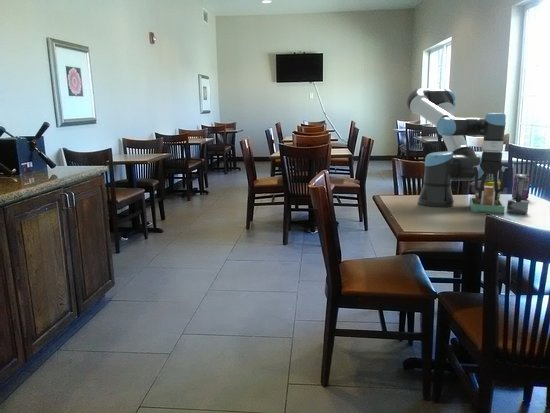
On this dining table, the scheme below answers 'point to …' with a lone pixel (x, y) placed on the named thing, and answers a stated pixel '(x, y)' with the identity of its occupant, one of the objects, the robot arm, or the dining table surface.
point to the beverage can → (525, 186)
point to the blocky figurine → (518, 200)
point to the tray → (486, 207)
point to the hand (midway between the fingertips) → (486, 207)
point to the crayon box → (492, 184)
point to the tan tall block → (487, 196)
